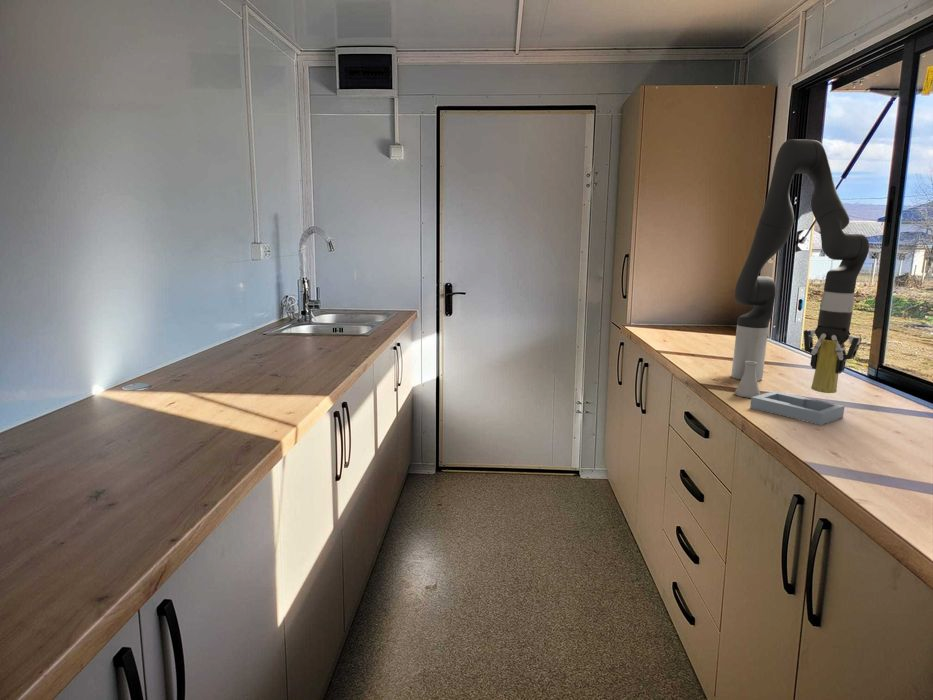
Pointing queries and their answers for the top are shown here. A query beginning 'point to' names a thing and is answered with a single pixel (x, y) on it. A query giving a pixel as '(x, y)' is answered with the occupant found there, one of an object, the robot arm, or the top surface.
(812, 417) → the keyhole board
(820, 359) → the vase
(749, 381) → the flask
